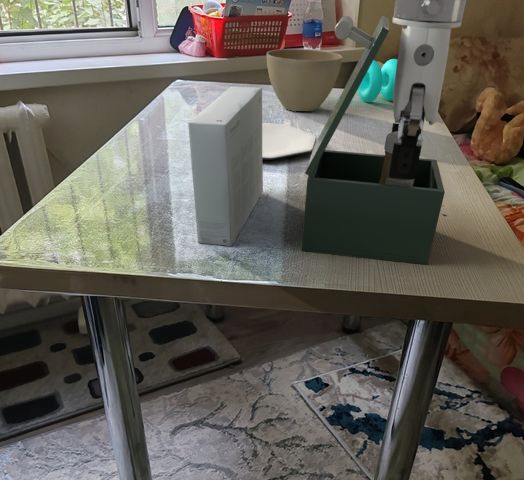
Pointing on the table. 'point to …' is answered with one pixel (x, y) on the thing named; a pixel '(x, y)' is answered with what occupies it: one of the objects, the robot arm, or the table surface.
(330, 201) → the trash bin
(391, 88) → the turquoise yoyo
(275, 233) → the table surface
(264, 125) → the plate
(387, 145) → the sprinkles bottle
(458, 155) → the table surface
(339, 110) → the bin lid
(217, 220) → the skincare box
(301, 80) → the flower pot
